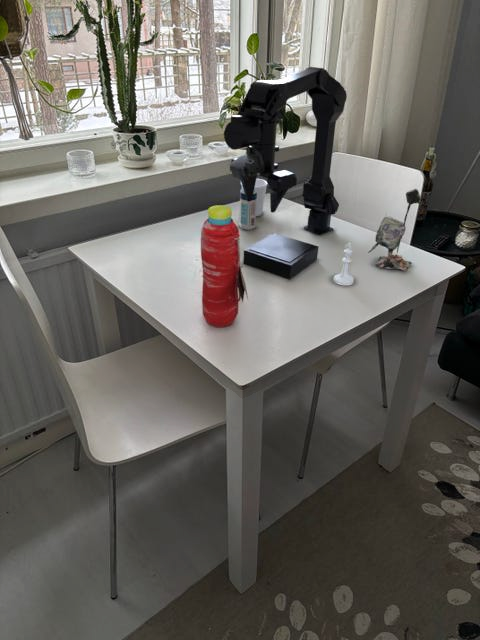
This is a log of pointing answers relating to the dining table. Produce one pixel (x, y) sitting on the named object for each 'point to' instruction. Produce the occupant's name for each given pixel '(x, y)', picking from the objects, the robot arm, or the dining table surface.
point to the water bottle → (221, 267)
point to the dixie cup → (260, 194)
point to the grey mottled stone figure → (394, 236)
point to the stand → (280, 255)
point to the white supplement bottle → (248, 210)
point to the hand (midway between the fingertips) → (260, 206)
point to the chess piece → (345, 269)
